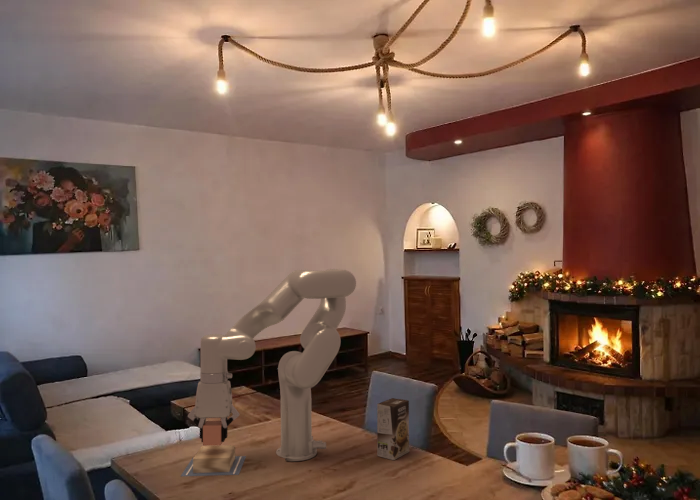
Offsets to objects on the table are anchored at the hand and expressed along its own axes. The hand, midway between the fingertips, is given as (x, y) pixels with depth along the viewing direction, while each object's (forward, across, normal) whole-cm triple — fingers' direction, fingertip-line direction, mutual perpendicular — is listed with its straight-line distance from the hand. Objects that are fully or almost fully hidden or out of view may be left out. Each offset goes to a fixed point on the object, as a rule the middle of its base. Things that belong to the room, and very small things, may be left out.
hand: (213, 440), depth 158 cm
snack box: (+8, -53, -8) cm, 55 cm away
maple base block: (+7, 0, 0) cm, 7 cm away
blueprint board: (+8, 0, 0) cm, 8 cm away
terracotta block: (+1, 0, 0) cm, 1 cm away
